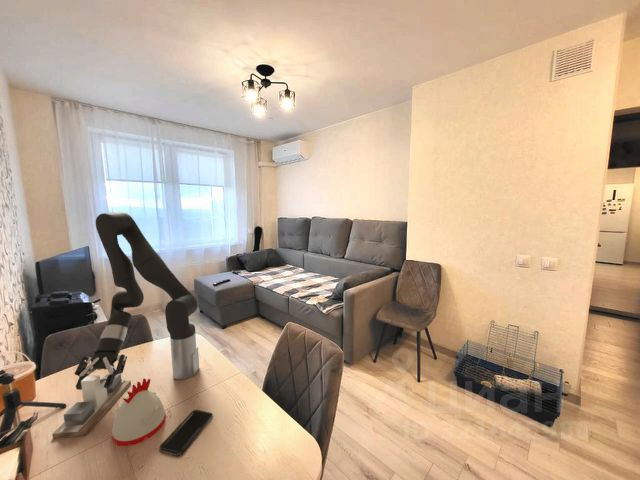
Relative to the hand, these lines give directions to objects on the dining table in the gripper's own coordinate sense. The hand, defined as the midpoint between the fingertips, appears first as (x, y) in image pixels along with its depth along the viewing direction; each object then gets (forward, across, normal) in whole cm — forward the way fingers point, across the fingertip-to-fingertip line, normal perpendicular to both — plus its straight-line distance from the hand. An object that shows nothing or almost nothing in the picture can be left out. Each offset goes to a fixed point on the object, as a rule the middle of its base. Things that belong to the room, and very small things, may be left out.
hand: (92, 388), depth 88 cm
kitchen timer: (+12, +19, 0) cm, 22 cm away
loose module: (+4, 0, +5) cm, 6 cm away
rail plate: (+5, 0, +6) cm, 8 cm away
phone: (+15, +35, -3) cm, 38 cm away
